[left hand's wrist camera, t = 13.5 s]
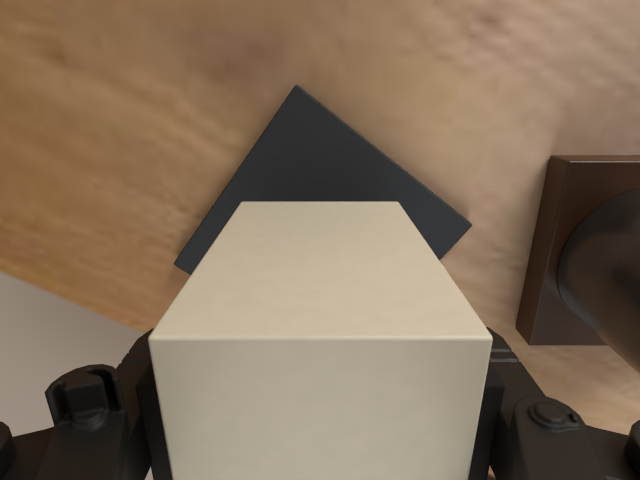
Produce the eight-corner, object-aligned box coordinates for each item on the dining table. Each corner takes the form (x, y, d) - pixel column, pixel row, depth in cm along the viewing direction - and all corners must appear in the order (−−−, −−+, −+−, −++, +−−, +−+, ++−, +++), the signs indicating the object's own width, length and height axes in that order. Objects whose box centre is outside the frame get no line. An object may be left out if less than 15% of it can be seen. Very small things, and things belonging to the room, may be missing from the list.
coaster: (177, 259, 20) (172, 264, 19) (296, 84, 17) (296, 84, 16) (338, 361, 22) (338, 368, 21) (468, 221, 19) (473, 225, 18)
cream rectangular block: (250, 335, 17) (186, 566, 9) (240, 201, 15) (145, 337, 7) (389, 335, 17) (453, 565, 9) (398, 200, 15) (495, 337, 7)
